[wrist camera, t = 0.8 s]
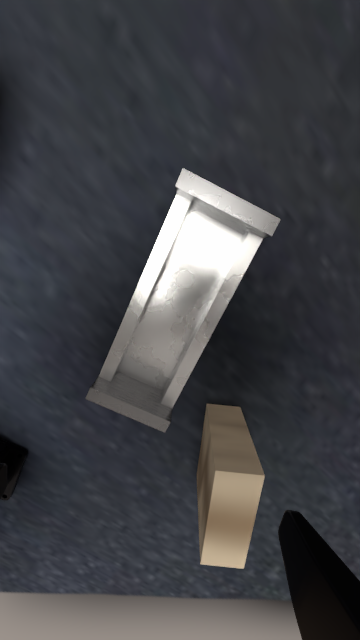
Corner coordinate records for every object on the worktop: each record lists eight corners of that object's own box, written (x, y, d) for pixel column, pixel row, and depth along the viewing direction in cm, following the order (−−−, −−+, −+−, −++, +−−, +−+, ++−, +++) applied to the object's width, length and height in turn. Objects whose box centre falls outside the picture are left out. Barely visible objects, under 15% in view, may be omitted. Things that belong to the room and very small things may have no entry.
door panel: (228, 478, 23) (245, 568, 16) (196, 475, 23) (200, 564, 16) (241, 406, 21) (267, 476, 14) (206, 403, 21) (215, 470, 14)
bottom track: (169, 401, 21) (164, 432, 17) (104, 372, 21) (85, 398, 17) (260, 228, 17) (280, 219, 14) (183, 189, 17) (182, 167, 13)
